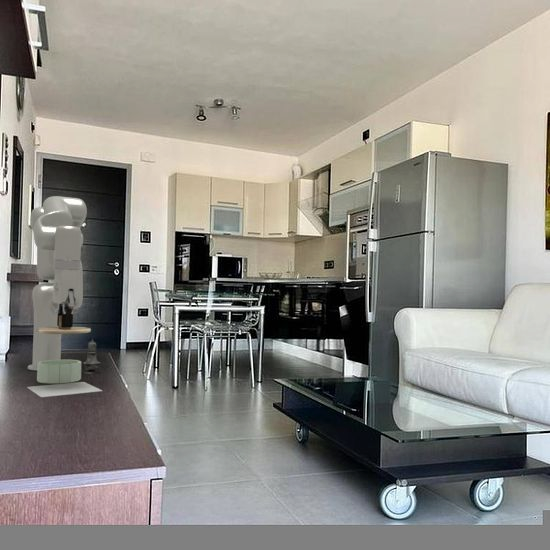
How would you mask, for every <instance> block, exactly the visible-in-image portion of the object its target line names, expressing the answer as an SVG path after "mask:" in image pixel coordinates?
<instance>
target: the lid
mask: <svg viewBox="0 0 550 550" xmlns="http://www.w3.org/2000/svg"><path fill="white" fill-rule="evenodd" d="M61 317H62V315H61V316H59V327H45V328H39V329H38V332H39V333H46V334H61V335H76V334H86V333H87V334H88V333H91V332H92V329H91V327H84V326H73V327H65V328H63V327H61Z"/></svg>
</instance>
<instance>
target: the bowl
mask: <svg viewBox="0 0 550 550" xmlns="http://www.w3.org/2000/svg"><path fill="white" fill-rule="evenodd" d="M36 372H37V373H36V381H37V382H38V383H41V384H66V383H76V382H80V380H81V379H82V361H81V360H79V359H60V360H47V361H41V362H39V363H37V371H36Z"/></svg>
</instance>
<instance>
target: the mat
mask: <svg viewBox="0 0 550 550" xmlns="http://www.w3.org/2000/svg"><path fill="white" fill-rule="evenodd" d="M26 388H27V389H29V390H30V391H31V392H33V393H34V394H35V395H37V396H38V397H40V398H48V397H57V396H59V397H60V396H68V395H77V394H79V395H80V394H88V393H89V394H90V393H97V392H103V390H102V389H100V388H98V387H96V386H94V385H92V384H90V383H87V382H85V381H76V382H70V383H54V384H45V385H35V386H34V385H33V386H26Z"/></svg>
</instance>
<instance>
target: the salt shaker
mask: <svg viewBox="0 0 550 550" xmlns="http://www.w3.org/2000/svg"><path fill="white" fill-rule="evenodd" d="M86 353H87V355H86V356H87V358H86V360H85V362H83V363H82V364H83V367H84V369H85V371H83V374H86V375H93V374H94V375H95V374H99V373H100V371H98V370H97V369H99V368H100V364H101V362H100V361H98V359H97V354H98V351H97V343H96V342H95V341H94V339H91V341H89V342H88V343H87V351H86Z"/></svg>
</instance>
